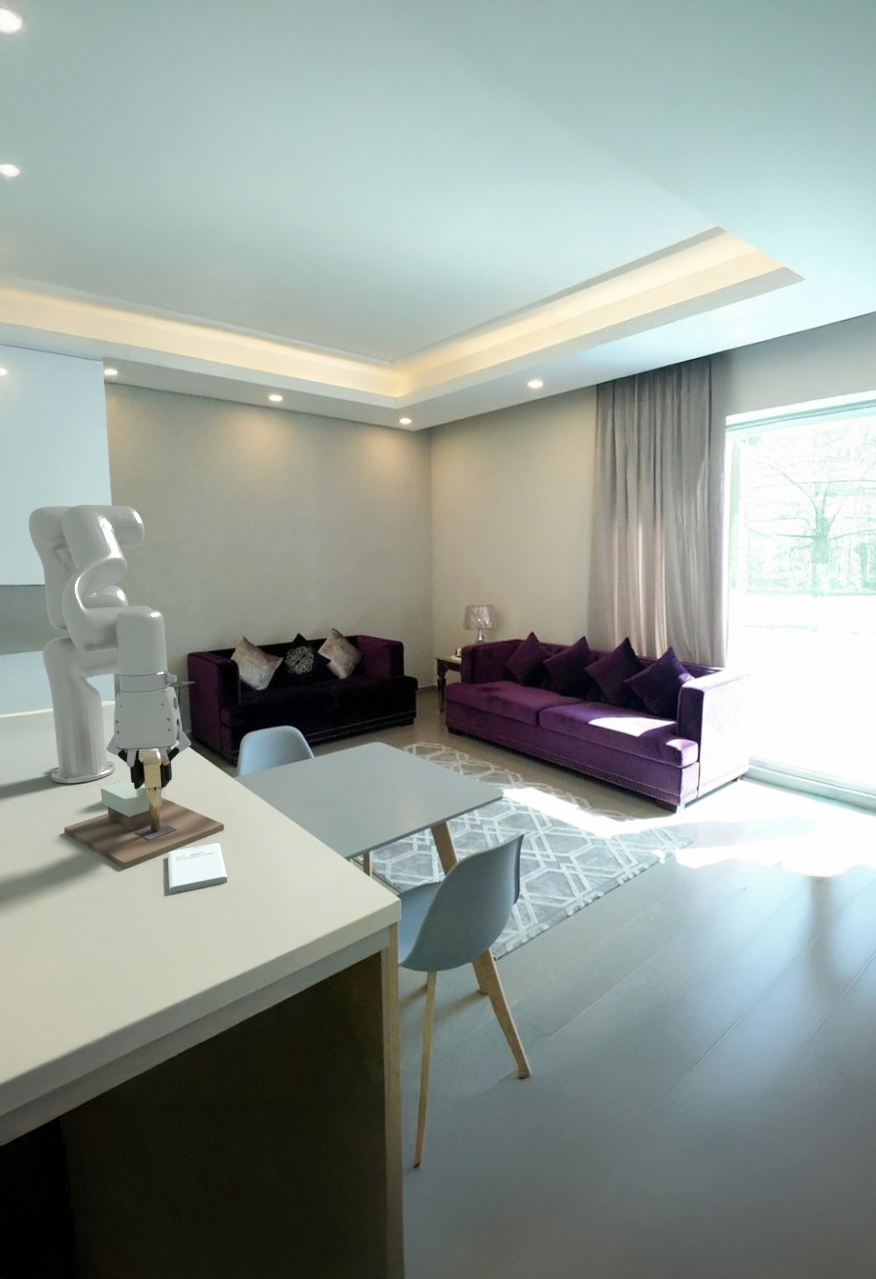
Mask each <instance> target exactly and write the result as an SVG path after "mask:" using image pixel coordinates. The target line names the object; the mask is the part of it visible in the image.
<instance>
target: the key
mask: <svg viewBox="0 0 876 1279" xmlns="http://www.w3.org/2000/svg"><path fill="white" fill-rule="evenodd" d="M157 752H158V751H157ZM157 752H156V751H149V752H142V753H141V755H142V763H143V775H144V785H145V790H146V796H147V798H148V802H149V815H150V828H151V830H158V829H160V814H159V801H158V796H159V789H158V787H159V786H161V776H160V763H159V760H158V756H157Z"/></svg>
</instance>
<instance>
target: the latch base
mask: <svg viewBox="0 0 876 1279" xmlns="http://www.w3.org/2000/svg"><path fill="white" fill-rule="evenodd" d="M161 803H162V806H160V807H159V814H160V829H158V830H151V828H150V815H149V810H148V811H145V812H142V813H139V814H136V815H134V816H131V817H128V816H126V815H124V814H122V813H120V812H118V811H116V810H114V809H112V808H110V807H108V806H107V813H104V814H101V815H98V816H96V817H92V818H89V819H87V820H83V821H80V822H76V823H74V824H71V825H68V826H65V827H63V830H64V833H65V834H66V835H67V836H69V837H71V838H73V839H74V840H75V841H78V842H79V843H81V844H83V845H84V846H86V847H87V848H89V849H90V850H93V851H95V852H96V853H97V854H99V855H101V856H102V857H104V858H106V859H107V860H109V861H112V863H115V864H116V865H118V866H119V867H121V868H123V869H124V870H126V869H129V868H131V867H134V866H136V865H139V864H142V863H144V862H147V861H149V860H152V859H154V858H157V857H159V856H161V855H164V854H166V853H168V852H170V851H174V850H177V849H180V848H181V847H183V846H186V845H189V844H191V843H194V842H196V841H199V840H202V839H204V838H206V837H208V835H209V836H211V835H214V834H216V833H219V832H221V831H223V829H224V830H225V824H224V823H222V822H219V821H217V820H214V819H212V818H210V817H208V816H206V815H203V814H200V813H198V812H196V811H195V810H191V809H190V808H187V807H185V806H182V805H180V804H178V803H175V802H174V801H171V800H169V799H166V798H164V797H162V796H161ZM218 831H219V832H218ZM213 833H214V834H213ZM198 839H199V840H198Z"/></svg>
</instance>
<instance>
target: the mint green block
mask: <svg viewBox="0 0 876 1279" xmlns="http://www.w3.org/2000/svg"><path fill="white" fill-rule="evenodd" d="M100 795H101V804H102V805H104V806H106V807H107V808H108V807H110V808H112V809H114V810H116V811H118V812H120V813H122V814H124V815H126V816H128V817H131V816H134V815H136V814H139V813H142V812H145V811H148V810H149V802H148V798H147V796H146V790H145V785H144V784H143V785H142V786H141V787H140V788H139V789H134V783H132V782H131V778H130V779H127V780H124V781H120V782H117V783H114V784H110V785H105V786H102V787H100ZM161 797H162V792H161V790H159V796H158V801H159V807H160V806H162V803H161Z"/></svg>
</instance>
